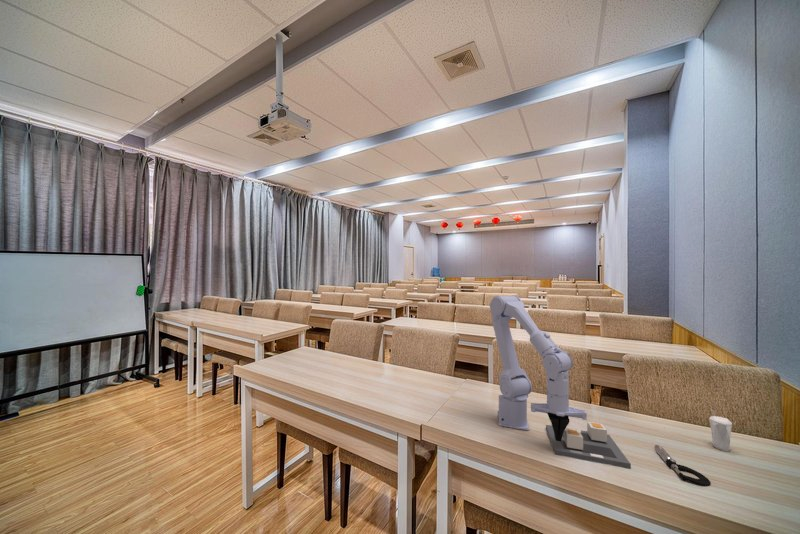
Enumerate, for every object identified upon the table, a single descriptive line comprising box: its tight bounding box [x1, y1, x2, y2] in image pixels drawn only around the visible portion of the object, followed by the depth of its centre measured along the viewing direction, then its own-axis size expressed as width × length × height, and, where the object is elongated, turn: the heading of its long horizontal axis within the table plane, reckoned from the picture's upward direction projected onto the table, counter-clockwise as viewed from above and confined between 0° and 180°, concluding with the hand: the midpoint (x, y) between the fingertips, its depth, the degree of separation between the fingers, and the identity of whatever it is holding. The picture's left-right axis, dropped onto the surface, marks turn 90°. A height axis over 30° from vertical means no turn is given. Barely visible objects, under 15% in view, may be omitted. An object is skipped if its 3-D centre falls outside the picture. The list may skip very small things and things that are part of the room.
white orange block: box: [586, 421, 608, 442], centre depth 88 cm, size 4×4×4 cm
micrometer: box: [654, 444, 712, 487], centre depth 77 cm, size 15×7×2 cm, turn 158°
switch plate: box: [545, 424, 632, 469], centre depth 86 cm, size 18×15×1 cm
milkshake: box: [709, 409, 733, 452], centre depth 87 cm, size 5×5×10 cm
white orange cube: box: [564, 427, 583, 450], centre depth 84 cm, size 4×4×4 cm
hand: (557, 439), depth 85 cm, fingers closed
